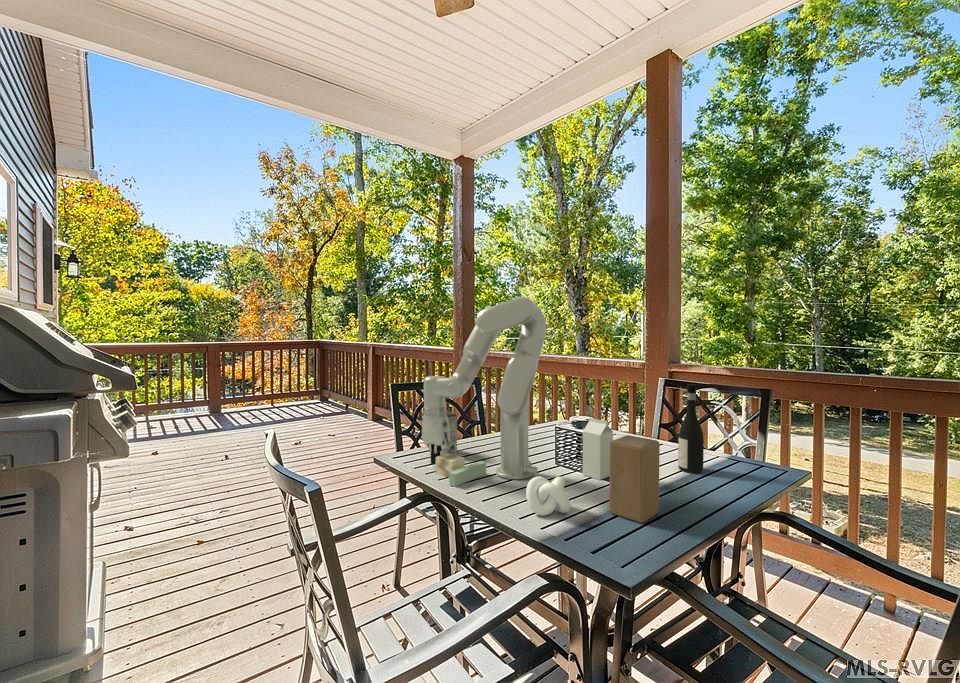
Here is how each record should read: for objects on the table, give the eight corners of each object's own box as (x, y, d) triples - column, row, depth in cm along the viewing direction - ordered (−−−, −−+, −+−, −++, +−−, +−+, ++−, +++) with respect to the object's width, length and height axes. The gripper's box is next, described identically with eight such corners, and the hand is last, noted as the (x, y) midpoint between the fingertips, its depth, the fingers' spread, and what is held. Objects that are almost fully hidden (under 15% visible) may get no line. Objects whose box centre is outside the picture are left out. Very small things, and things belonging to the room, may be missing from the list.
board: (486, 473, 157) (486, 462, 157) (454, 486, 145) (454, 474, 145) (480, 472, 159) (480, 460, 158) (449, 485, 146) (449, 472, 146)
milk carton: (600, 480, 150) (600, 422, 149) (582, 475, 155) (582, 419, 155) (613, 475, 154) (613, 419, 154) (595, 470, 160) (595, 416, 159)
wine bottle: (680, 472, 157) (681, 385, 156) (676, 465, 165) (677, 382, 163) (705, 474, 155) (707, 386, 154) (700, 467, 163) (701, 383, 162)
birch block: (464, 474, 156) (464, 457, 156) (452, 479, 152) (452, 461, 152) (448, 470, 162) (447, 453, 161) (435, 474, 157) (435, 457, 157)
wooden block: (607, 513, 124) (608, 440, 123) (625, 503, 131) (626, 433, 130) (643, 525, 117) (643, 447, 116) (660, 513, 124) (661, 440, 123)
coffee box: (434, 451, 186) (434, 411, 185) (449, 449, 188) (448, 410, 188) (442, 456, 177) (441, 415, 177) (457, 454, 180) (457, 414, 179)
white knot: (533, 499, 134) (533, 469, 134) (575, 505, 130) (575, 474, 129) (523, 515, 123) (523, 482, 123) (567, 521, 119) (567, 487, 119)
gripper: (457, 412, 159) (458, 464, 159) (427, 407, 168) (428, 457, 169) (442, 415, 153) (443, 470, 154) (412, 410, 162) (413, 462, 163)
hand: (435, 463), depth 161 cm, fingers closed
